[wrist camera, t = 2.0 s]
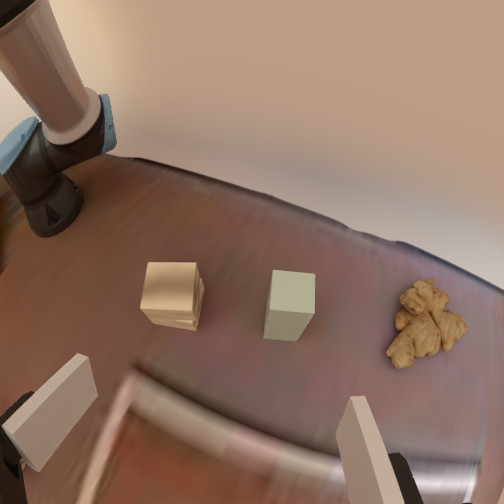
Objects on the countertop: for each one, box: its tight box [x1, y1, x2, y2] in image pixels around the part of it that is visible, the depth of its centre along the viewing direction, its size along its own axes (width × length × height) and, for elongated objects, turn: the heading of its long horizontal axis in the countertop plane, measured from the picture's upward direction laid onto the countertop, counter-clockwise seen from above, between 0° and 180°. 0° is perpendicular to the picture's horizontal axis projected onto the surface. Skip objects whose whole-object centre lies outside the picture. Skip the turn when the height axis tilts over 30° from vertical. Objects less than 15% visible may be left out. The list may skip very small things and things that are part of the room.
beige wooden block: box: [150, 278, 205, 331], centre depth 41 cm, size 7×7×4 cm
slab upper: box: [140, 262, 200, 321], centre depth 38 cm, size 7×7×4 cm
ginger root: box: [386, 278, 468, 368], centre depth 39 cm, size 16×16×8 cm
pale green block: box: [263, 270, 315, 341], centre depth 37 cm, size 5×5×12 cm
